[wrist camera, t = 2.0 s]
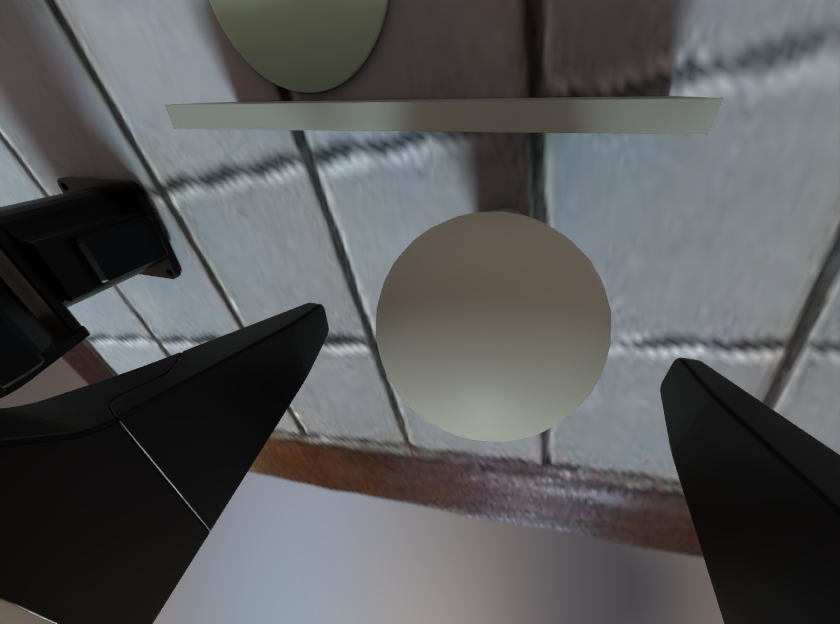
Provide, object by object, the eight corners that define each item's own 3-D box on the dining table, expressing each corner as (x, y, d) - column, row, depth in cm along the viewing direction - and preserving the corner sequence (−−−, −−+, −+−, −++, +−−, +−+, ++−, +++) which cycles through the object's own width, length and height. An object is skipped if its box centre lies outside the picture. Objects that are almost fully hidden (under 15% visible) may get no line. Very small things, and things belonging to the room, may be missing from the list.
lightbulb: (498, 126, 13) (434, 196, 5) (607, 219, 14) (732, 433, 5) (418, 236, 17) (297, 394, 8) (508, 306, 18) (486, 518, 9)
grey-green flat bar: (245, 121, 16) (174, 128, 13) (239, 101, 16) (164, 104, 12) (660, 122, 12) (707, 134, 9) (669, 96, 11) (723, 98, 8)
